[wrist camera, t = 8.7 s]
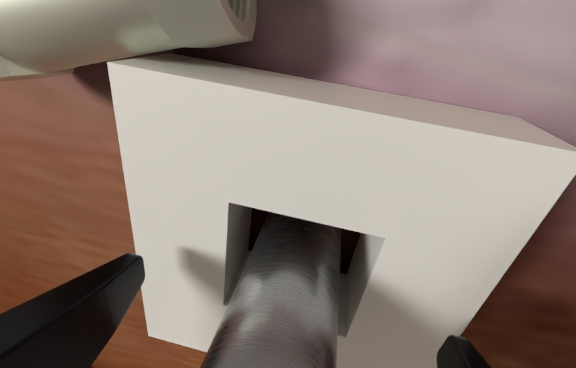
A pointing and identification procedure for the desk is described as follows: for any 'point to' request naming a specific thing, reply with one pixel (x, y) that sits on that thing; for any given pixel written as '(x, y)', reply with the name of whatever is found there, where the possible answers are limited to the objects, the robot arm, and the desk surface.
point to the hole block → (326, 197)
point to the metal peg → (283, 300)
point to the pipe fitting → (111, 31)
